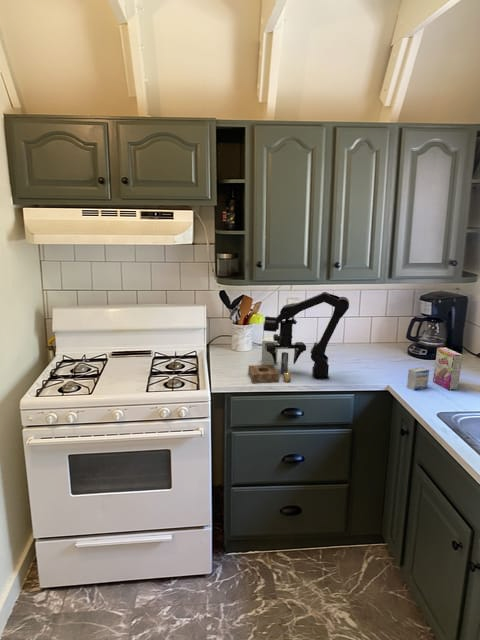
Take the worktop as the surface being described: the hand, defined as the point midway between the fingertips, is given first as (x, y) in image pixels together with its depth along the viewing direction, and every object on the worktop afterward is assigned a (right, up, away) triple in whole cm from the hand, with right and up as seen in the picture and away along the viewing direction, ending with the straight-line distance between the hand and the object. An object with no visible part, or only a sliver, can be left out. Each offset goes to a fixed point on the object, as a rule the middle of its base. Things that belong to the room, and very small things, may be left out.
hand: (284, 364), depth 222 cm
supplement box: (-6, -1, +15) cm, 16 cm away
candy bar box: (+71, -9, -10) cm, 72 cm away
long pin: (0, -4, +1) cm, 5 cm away
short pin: (0, -7, -9) cm, 11 cm away
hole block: (-10, -6, -5) cm, 13 cm away
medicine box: (+58, -9, -13) cm, 60 cm away
